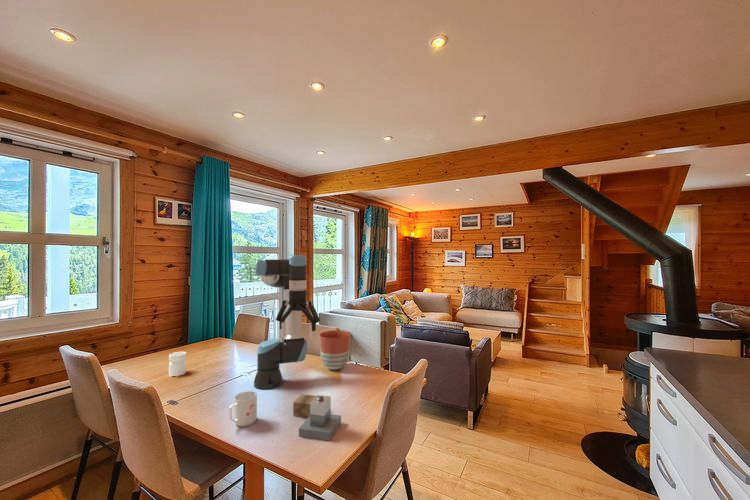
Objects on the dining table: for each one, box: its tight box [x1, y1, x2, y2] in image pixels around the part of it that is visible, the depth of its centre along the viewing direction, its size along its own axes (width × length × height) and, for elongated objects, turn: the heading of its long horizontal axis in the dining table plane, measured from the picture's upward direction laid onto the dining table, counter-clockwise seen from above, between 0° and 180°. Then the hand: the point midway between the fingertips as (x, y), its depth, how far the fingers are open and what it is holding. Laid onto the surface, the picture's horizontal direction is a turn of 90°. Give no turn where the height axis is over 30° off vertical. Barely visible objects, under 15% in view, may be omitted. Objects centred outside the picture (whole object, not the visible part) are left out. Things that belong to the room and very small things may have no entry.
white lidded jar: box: [168, 351, 187, 378], centre depth 183 cm, size 9×9×12 cm
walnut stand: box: [292, 393, 317, 419], centre depth 138 cm, size 8×8×6 cm
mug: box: [228, 390, 258, 428], centre depth 129 cm, size 12×9×11 cm
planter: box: [319, 329, 351, 371], centre depth 192 cm, size 20×20×21 cm
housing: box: [310, 394, 332, 427], centre depth 125 cm, size 6×7×10 cm
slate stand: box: [298, 414, 342, 441], centre depth 125 cm, size 13×13×3 cm
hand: (297, 337), depth 135 cm, fingers open, 13 cm apart
